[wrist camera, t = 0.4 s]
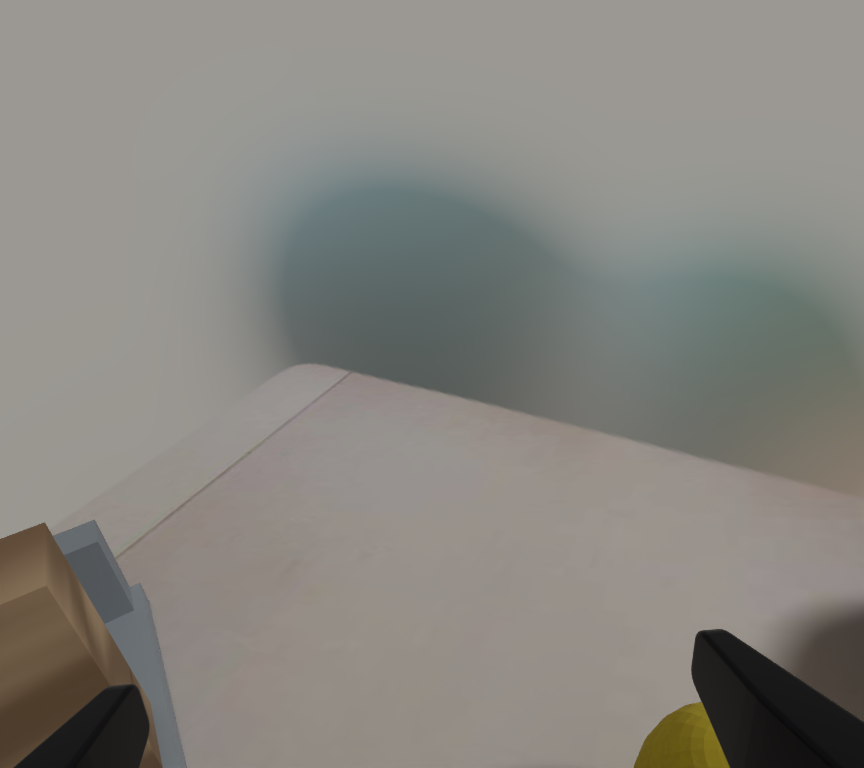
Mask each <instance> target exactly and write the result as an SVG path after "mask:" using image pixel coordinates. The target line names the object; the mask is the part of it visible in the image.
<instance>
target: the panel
mask: <svg viewBox="0 0 864 768" xmlns="http://www.w3.org/2000/svg"><path fill="white" fill-rule="evenodd" d="M122 684H135V685H136V686H137V687H138V688H139V690H140V693H141V696H142V699H143V702H144V705H145V708H146V712H147V715H148V718H149V723H150V730H149V736H148V740H147V744H146V747H145V750H144V754H143V757H142V760H141V764H140V767H139V768H163V766H162V761H161V756H160V751H159V745H158V740H157V735H156V730H155V724H154V719H153V714H152V709H151V703H150V701H149V699H148V697H147V696H146V694H145V692H144V691H143V689H142V687H141V686H140V684H139V682H138V680H137V679H136V677H135V675H134V674H133V672H132V670H131V668H130V667H129V665H128V663H127V662H126V660H125V658H124V657H123V655H122V653H121V651H120V650H119V648H118V646H117V645H116V643H115V641H114V640H113V638H112V636H111V634H110V633H109V631H108V629H107V628H106V626H105V624H104V623H103V621H102V619H101V617H100V616H99V614H98V612H97V611H96V609H95V607H94V606H93V604H92V602H91V600H90V599H89V597H88V595H87V594H86V592H85V590H84V588H83V587H82V585H81V583H80V582H79V580H78V578H77V577H76V575H75V573H74V571H73V570H72V568H71V566H70V565H69V563H68V561H67V560H66V558H65V556H64V554H63V553H62V551H61V549H60V548H59V546H58V544H57V543H56V541H55V539H54V537H53V536H52V534H51V532H50V531H49V529H48V527H47V526H46V524H45V523H42V524H39V525H37V526H34V527H31V528H29V529H26V530H23V531H21V532H18V533H15V534H13V535H10V536H7V537H5V538H2V539H0V768H13V767H14V766H15V765H17V764H18V763H19V762H20V761H21V760H22V759H23V758H25V757H26V756H27V755H28V754H29V753H30V752H32V751H33V750H34V749H35V748H36V747H37V746H39V745H40V744H41V743H42V742H43V741H44V740H45V739H47V738H48V737H49V736H50V735H51V734H52V733H54V732H55V731H56V730H57V729H58V728H59V727H61V726H62V725H63V724H64V723H65V722H66V721H67V720H69V719H70V718H71V717H72V716H73V715H74V714H76V713H77V712H78V711H79V710H80V709H81V708H83V707H84V706H85V705H86V704H87V703H88V702H89V701H91V700H92V699H93V698H94V697H95V696H96V695H98V694H99V693H100V692H101V691H102V690H104V689H105V688H107V687H109V686H112V685H122Z"/></svg>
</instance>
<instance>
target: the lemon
mask: <svg viewBox="0 0 864 768" xmlns="http://www.w3.org/2000/svg"><path fill="white" fill-rule="evenodd" d="M634 768H730V767H729V764H728V762H727V760H726V757H725V755H724V753H723V750H722V748H721V746H720V743H719V741H718V739H717V736H716V734H715V732H714V729H713V727H712V725H711V722H710V720H709V718H708V715H707V713H706V711H705V708H704V706H703V704H702V702H699V703H694V704H689V705H685V706H684V707H682V708H680V709H678V710H676V711H674V712H673V713H671V714H669V715H667V716H666V717H665V718H664V719H662V721H661V722H660V723H659V724H658V725H657V726H656V727H655V728H654V730H653V731H652V732H651V733H650V734H649V735H648V736H647V738H646V739H645V741H644V743H643V745H642V748H641V750H640V752H639V755H638V757H637V760H636V762H635V765H634Z"/></svg>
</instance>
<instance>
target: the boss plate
mask: <svg viewBox="0 0 864 768" xmlns="http://www.w3.org/2000/svg"><path fill="white" fill-rule="evenodd" d="M53 537H54V539H55V541H56V543H57V544H58V546H59V548H60V549H61V551H62V553H63V554H64V556H65V558H66V560H67V561H68V563H69V565H70V566H71V568H72V570H73V571H74V573H75V575H76V577H77V578H78V580H79V582H80V583H81V585H82V587H83V588H84V590H85V592H86V594H87V595H88V597H89V599H90V600H91V602H92V604H93V606H94V607H95V609H96V611H97V612H98V614H99V616H100V617H101V619H102V621H103V623H104V624H105V626H106V628H107V629H108V631H109V633H110V634H111V636H112V638H113V640H114V641H115V643H116V645H117V646H118V648H119V650H120V651H121V653H122V655H123V657H124V658H125V660H126V662H127V663H128V665H129V667H130V668H131V670H132V672H133V674H134V675H135V677H136V679H137V680H138V682H139V684H140V686H141V687H142V689H143V691H144V692H145V694H146V696H147V697H148V699H149V701H150V703H151V709H152V714H153V719H154V724H155V730H156V735H157V740H158V745H159V751H160V756H161V761H162V766H163V768H187V767H186V763H185V758H184V754H183V749H182V745H181V741H180V736H179V732H178V727H177V723H176V718H175V714H174V710H173V705H172V701H171V696H170V692H169V687H168V683H167V679H166V674H165V670H164V665H163V661H162V657H161V652H160V648H159V643H158V639H157V634H156V630H155V626H154V621H153V617H152V612H151V608H150V603H149V600H148V598H147V596H146V594H145V592H144V590H143V588H142V586H141V584H140V583H138V584H136V585H134V586H132V587H129V585H128V583H127V581H126V579H125V577H124V575H123V573H122V571H121V569H120V568H119V566H118V564H117V562H116V560H115V558H114V556H113V554H112V552H111V550H110V548H109V546H108V544H107V542H106V540H105V539H104V537H103V535H102V533H101V531H100V529H99V527H98V525H97V523H96V521H95V520H93V521H90V522H88V523H85V524H82V525H80V526H77V527H75V528H72V529H69V530H67V531H64V532H62V533H59V534H57V535H54V536H53Z"/></svg>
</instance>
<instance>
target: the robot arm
mask: <svg viewBox="0 0 864 768" xmlns="http://www.w3.org/2000/svg"><path fill="white" fill-rule="evenodd" d="M691 672H692V679H693V682H694V685H695V687H696V690H697V692H698V694H699V697H700V699H701V701H702V704H703V706H704V708H705V711H706V713H707V715H708V718H709V720H710V722H711V725H712V727H713V729H714V732H715V734H716V736H717V739H718V741H719V743H720V746H721V748H722V750H723V753H724V755H725V757H726V760H727V762H728V764H729V767H730V768H864V722H863V721H861V720H860V719H858V718H857V717H855V716H854V715H852V714H851V713H849V712H848V711H846V710H845V709H843V708H842V707H840V706H839V705H837V704H836V703H834V702H833V701H831V700H830V699H828V698H827V697H825V696H824V695H822V694H821V693H819V692H818V691H816V690H815V689H813V688H812V687H810V686H809V685H807V684H806V683H804V682H803V681H801V680H800V679H798V678H797V677H795V676H794V675H792V674H791V673H789V672H788V671H786V670H785V669H783V668H782V667H780V666H779V665H777V664H776V663H774V662H773V661H771V660H770V659H768V658H767V657H765V656H764V655H762V654H761V653H759V652H758V651H756V650H755V649H753V648H752V647H750V646H749V645H747V644H746V643H744V642H743V641H741V640H740V639H738V638H737V637H735V636H734V635H732V634H731V633H729V632H727V631H725V630H723V629H714V630H703V631H699V632H698V633H697V635H696V638H695V644H694V651H693V659H692V666H691ZM149 730H150V723H149V718H148V715H147V712H146V708H145V705H144V702H143V699H142V696H141V693H140V690H139V688H138V687H137V686H136V685H135V684H122V685H112V686H109V687H107V688H105V689H104V690H102V691H101V692H100V693H99V694H98V695H96V696H95V697H94V698H93V699H92V700H91V701H89V702H88V703H87V704H86V705H85V706H84V707H83V708H81V709H80V710H79V711H78V712H77V713H76V714H74V715H73V716H72V717H71V718H70V719H69V720H67V721H66V722H65V723H64V724H63V725H62V726H61V727H59V728H58V729H57V730H56V731H55V732H54V733H52V734H51V735H50V736H49V737H48V738H47V739H45V740H44V741H43V742H42V743H41V744H40V745H39V746H37V747H36V748H35V749H34V750H33V751H32V752H30V753H29V754H28V755H27V756H26V757H25V758H23V759H22V760H21V761H20V762H19V763H18V764H17V765H15V766H14V767H13V768H139V767H140V764H141V760H142V757H143V754H144V750H145V747H146V744H147V740H148V736H149Z"/></svg>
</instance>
